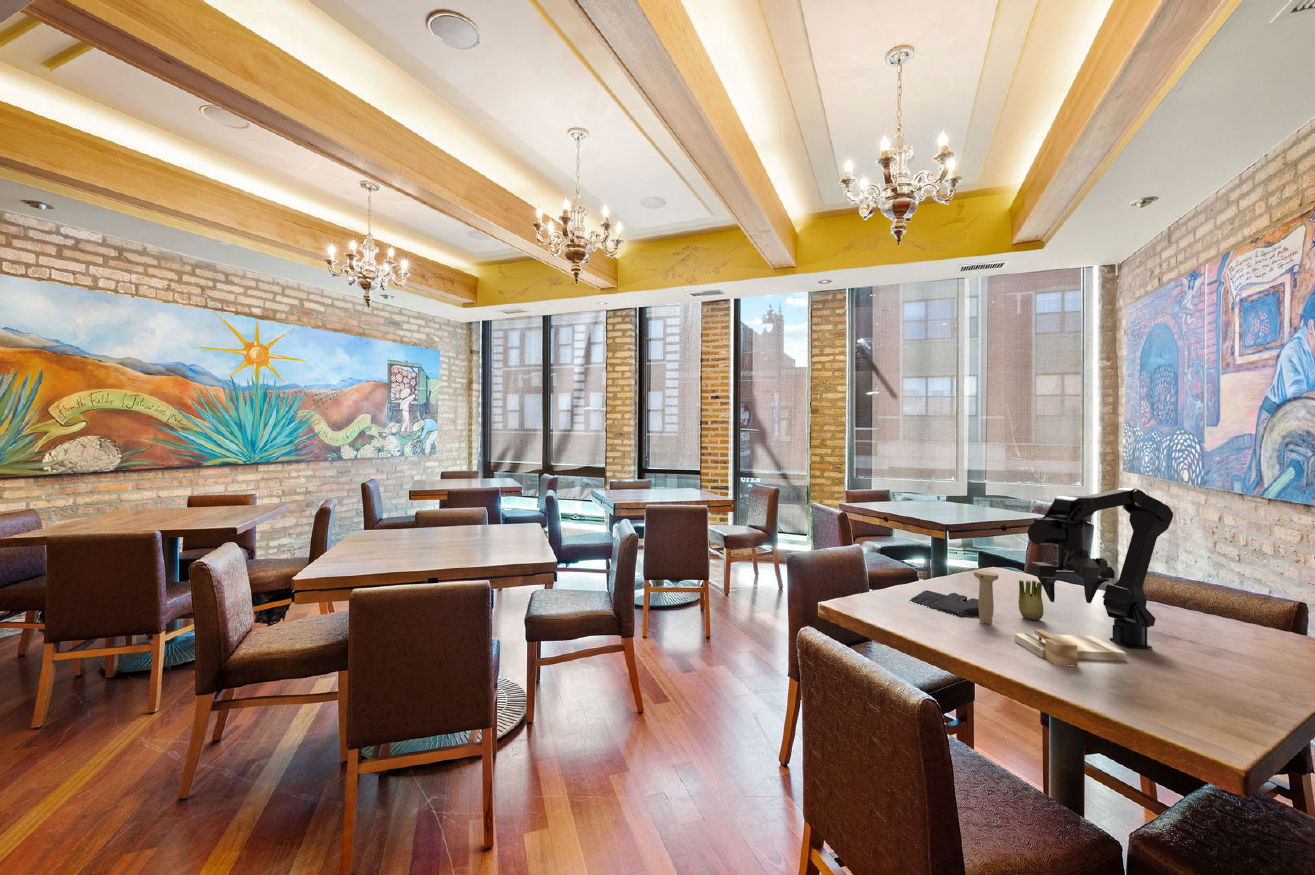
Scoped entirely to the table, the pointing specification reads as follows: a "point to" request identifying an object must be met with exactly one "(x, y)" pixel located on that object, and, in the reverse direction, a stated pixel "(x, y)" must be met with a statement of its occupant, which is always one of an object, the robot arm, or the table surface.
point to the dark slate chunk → (948, 603)
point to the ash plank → (1085, 644)
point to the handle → (986, 595)
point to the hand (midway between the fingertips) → (1070, 602)
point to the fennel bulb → (1030, 600)
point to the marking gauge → (1058, 649)
